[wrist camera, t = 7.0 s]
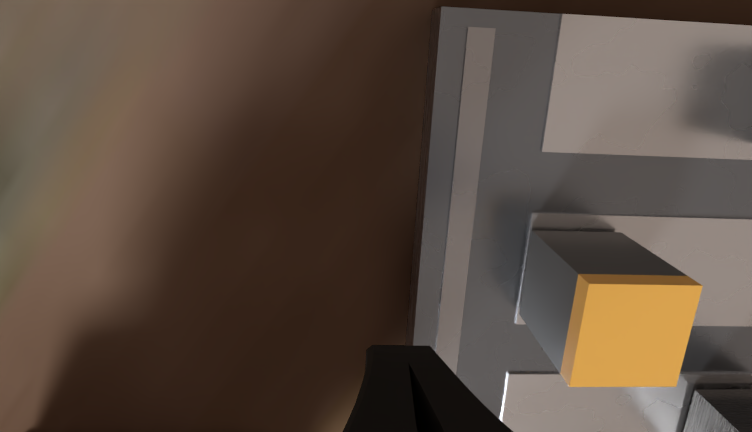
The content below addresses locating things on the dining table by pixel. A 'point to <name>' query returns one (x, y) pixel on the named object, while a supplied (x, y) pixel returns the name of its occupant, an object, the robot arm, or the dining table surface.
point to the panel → (584, 201)
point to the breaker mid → (607, 309)
